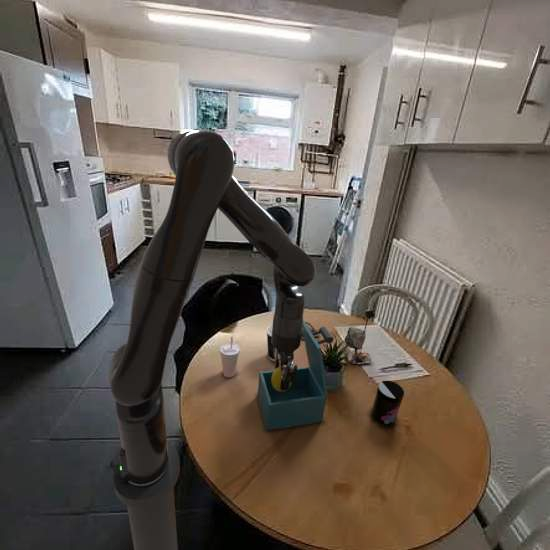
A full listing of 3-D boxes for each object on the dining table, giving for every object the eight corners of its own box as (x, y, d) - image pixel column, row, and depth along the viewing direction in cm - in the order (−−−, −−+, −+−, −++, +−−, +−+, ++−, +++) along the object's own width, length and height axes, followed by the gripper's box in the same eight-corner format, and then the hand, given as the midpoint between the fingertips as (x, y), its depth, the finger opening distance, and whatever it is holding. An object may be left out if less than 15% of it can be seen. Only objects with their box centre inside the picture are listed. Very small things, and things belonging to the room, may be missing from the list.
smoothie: (242, 376, 99) (244, 339, 94) (224, 383, 96) (225, 345, 90) (233, 364, 104) (234, 329, 99) (215, 370, 101) (216, 334, 95)
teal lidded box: (266, 430, 81) (269, 405, 78) (257, 395, 92) (259, 371, 89) (321, 421, 85) (326, 397, 82) (306, 388, 96) (309, 366, 93)
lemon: (277, 380, 89) (280, 358, 86) (294, 389, 86) (297, 366, 83) (266, 391, 85) (268, 368, 82) (283, 401, 82) (285, 377, 79)
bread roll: (320, 337, 124) (321, 329, 122) (302, 341, 120) (303, 333, 119) (306, 323, 132) (307, 316, 131) (289, 326, 129) (290, 319, 127)
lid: (317, 348, 74) (339, 341, 75) (300, 321, 86) (319, 315, 86) (325, 396, 82) (344, 389, 82) (308, 365, 93) (326, 359, 94)
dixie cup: (264, 364, 106) (266, 337, 101) (263, 349, 113) (265, 324, 109) (287, 364, 106) (290, 337, 102) (285, 350, 114) (288, 324, 110)
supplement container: (374, 426, 85) (382, 397, 81) (368, 407, 92) (375, 379, 88) (398, 428, 85) (408, 399, 81) (391, 409, 92) (399, 381, 88)
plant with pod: (340, 348, 118) (349, 301, 110) (371, 355, 115) (382, 308, 107) (338, 361, 110) (348, 312, 103) (371, 368, 108) (383, 319, 100)
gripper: (266, 314, 83) (262, 365, 89) (280, 346, 70) (274, 402, 77) (293, 312, 85) (287, 362, 91) (311, 343, 72) (302, 399, 79)
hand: (281, 380), depth 84 cm, fingers closed on lemon, 5 cm apart
